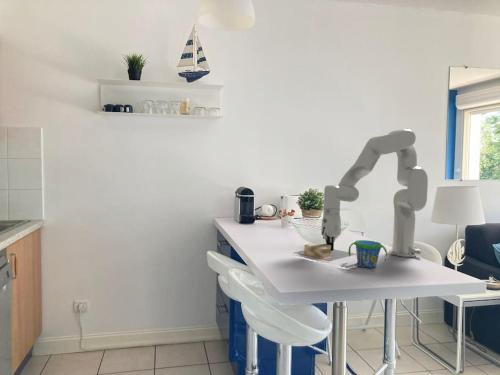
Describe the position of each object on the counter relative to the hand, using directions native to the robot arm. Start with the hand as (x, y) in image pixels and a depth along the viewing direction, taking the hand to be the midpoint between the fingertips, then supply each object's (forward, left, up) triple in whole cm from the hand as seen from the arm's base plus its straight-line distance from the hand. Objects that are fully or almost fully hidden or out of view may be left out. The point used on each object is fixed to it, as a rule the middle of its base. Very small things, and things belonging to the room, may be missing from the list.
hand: (329, 250), depth 190 cm
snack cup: (-23, +7, -2) cm, 24 cm away
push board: (0, +4, -2) cm, 4 cm away
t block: (0, +7, -1) cm, 7 cm away
